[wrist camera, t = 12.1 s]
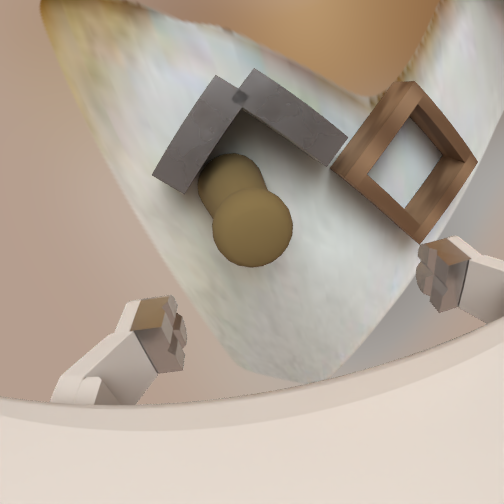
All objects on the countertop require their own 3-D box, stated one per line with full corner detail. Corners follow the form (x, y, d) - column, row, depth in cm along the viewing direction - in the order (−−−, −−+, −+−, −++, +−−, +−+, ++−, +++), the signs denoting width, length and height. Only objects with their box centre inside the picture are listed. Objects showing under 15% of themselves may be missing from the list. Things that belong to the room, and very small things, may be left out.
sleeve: (393, 82, 24) (414, 81, 21) (455, 154, 28) (477, 161, 24) (329, 168, 28) (344, 177, 24) (401, 229, 32) (419, 244, 28)
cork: (245, 223, 30) (278, 291, 21) (187, 203, 28) (193, 267, 18) (273, 168, 28) (323, 214, 18) (213, 143, 25) (234, 176, 16)
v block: (148, 98, 24) (132, 97, 19) (318, 67, 24) (336, 60, 19) (169, 184, 28) (158, 200, 23) (331, 153, 27) (351, 163, 23)
